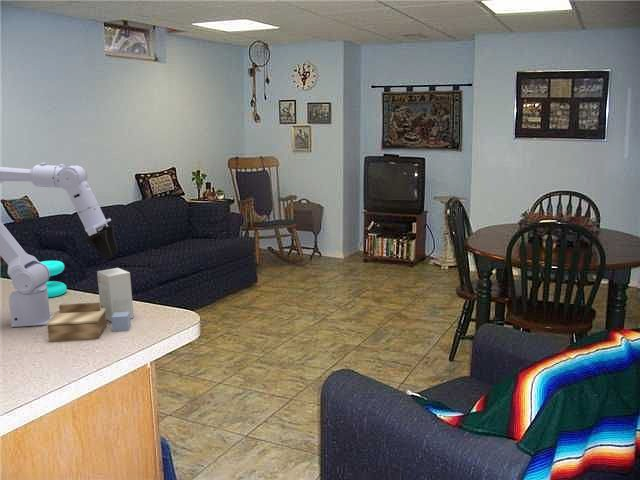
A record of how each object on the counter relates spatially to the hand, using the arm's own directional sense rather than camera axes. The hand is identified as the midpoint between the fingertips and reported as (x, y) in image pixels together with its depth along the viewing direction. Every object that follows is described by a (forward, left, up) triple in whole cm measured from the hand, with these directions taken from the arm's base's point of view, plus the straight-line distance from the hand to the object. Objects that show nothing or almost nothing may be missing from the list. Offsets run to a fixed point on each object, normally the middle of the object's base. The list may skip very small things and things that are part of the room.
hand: (111, 255), depth 179 cm
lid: (-8, -9, -14) cm, 18 cm away
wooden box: (-8, -9, -18) cm, 22 cm away
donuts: (-26, +31, -18) cm, 45 cm away
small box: (0, +3, -18) cm, 19 cm away
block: (+2, -7, -18) cm, 20 cm away
